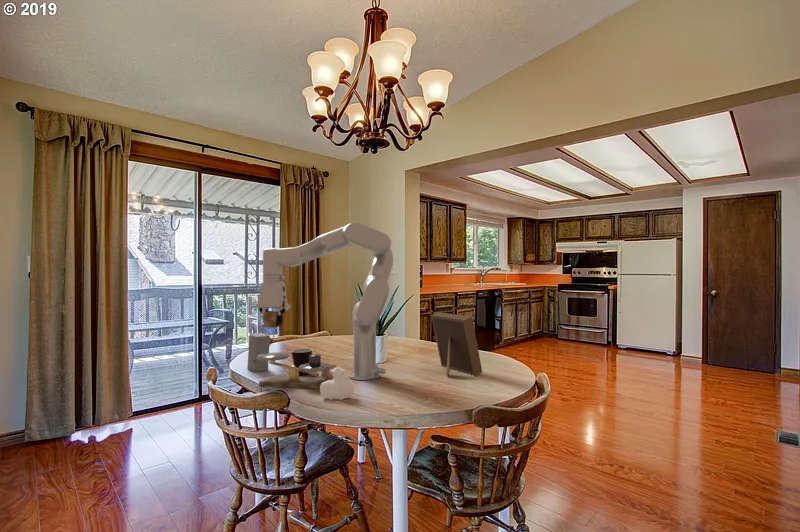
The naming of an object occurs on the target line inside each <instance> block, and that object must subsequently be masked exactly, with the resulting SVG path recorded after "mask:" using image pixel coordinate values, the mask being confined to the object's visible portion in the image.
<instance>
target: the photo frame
mask: <svg viewBox="0 0 800 532" xmlns="http://www.w3.org/2000/svg"><path fill="white" fill-rule="evenodd" d="M430 316H431V320H432V325H433V330H434V336H435V341H436V345H437V350H438V355H439V360H440V361H439V362H440V365H441V367H443V368H446V367H447V368H446V377H447V378H449V377H450V370H453V371H456V370H457V372H459V371H460V373H462V372H463V374H466V373H467V374H466V375H469V374H470V375H469V376H472V375H473V376H472V377H477V376H479V375H481V374H482V373H483V369H482V363H481V357H480V353H479V347H478V341H477V336H476V331H475V325H474V321H473V320H474V319H473V316H470V315H469V316H467V315H460V314H455V313H454V314H453V313H446V312H440V311H437V312H435V313H432V314H431V315H430Z"/></svg>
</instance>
